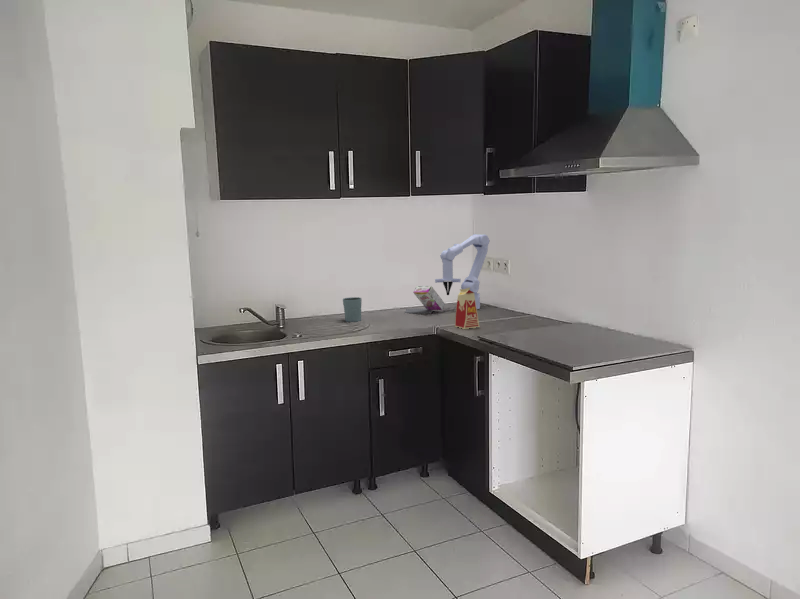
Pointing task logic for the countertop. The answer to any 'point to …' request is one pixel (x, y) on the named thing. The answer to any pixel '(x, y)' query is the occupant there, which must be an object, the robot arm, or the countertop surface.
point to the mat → (417, 311)
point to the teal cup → (352, 309)
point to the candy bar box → (429, 297)
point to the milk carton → (466, 310)
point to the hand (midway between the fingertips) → (447, 294)
